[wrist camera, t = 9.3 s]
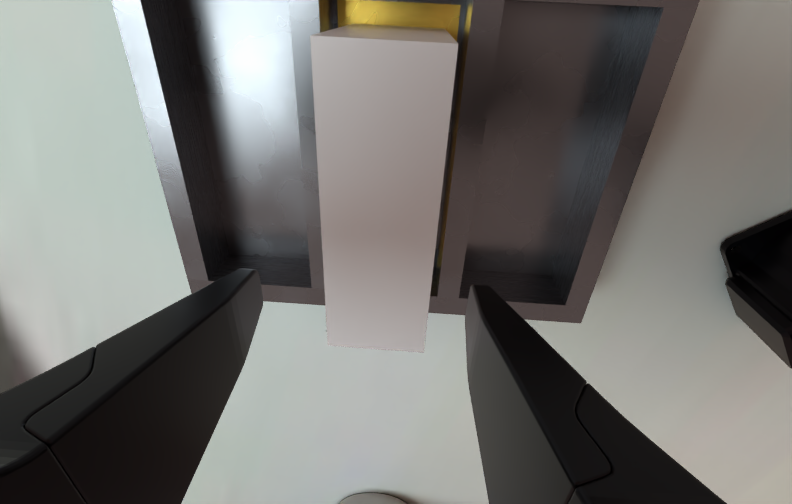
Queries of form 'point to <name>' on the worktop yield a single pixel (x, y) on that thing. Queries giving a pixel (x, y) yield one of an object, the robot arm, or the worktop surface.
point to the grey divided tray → (466, 147)
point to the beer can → (371, 499)
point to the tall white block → (380, 176)
